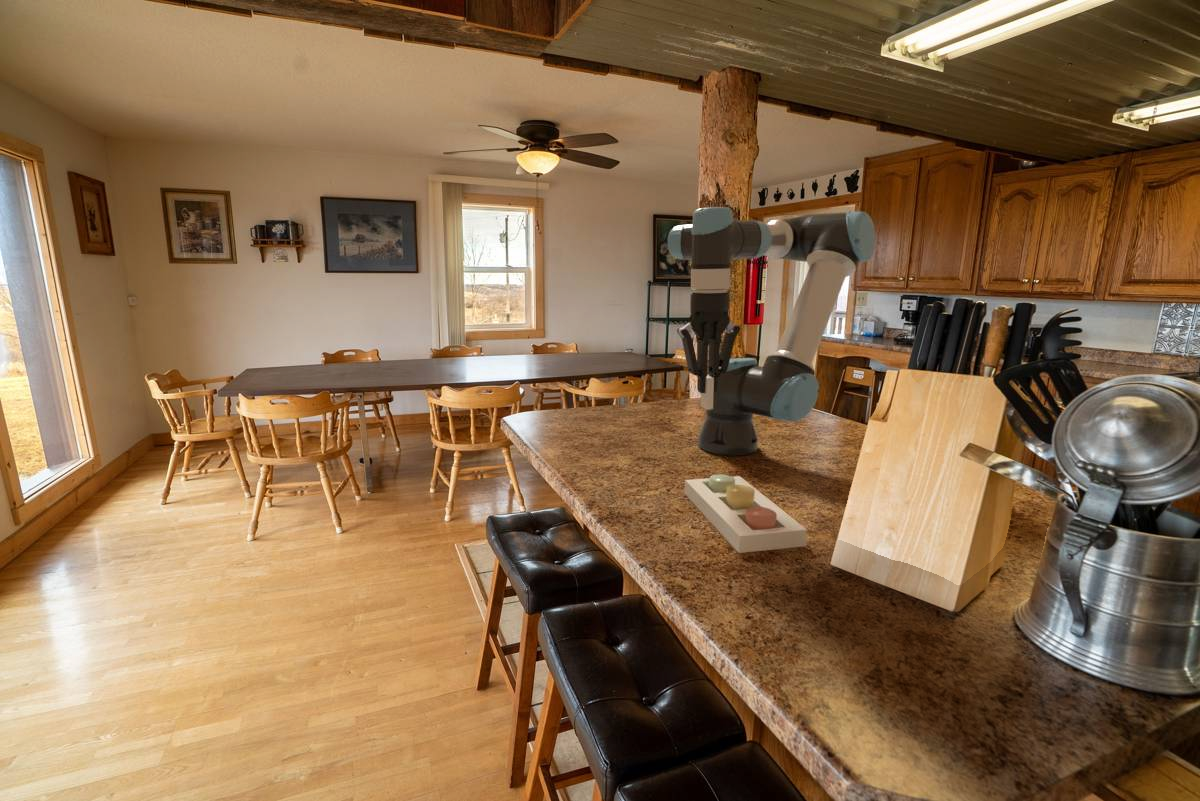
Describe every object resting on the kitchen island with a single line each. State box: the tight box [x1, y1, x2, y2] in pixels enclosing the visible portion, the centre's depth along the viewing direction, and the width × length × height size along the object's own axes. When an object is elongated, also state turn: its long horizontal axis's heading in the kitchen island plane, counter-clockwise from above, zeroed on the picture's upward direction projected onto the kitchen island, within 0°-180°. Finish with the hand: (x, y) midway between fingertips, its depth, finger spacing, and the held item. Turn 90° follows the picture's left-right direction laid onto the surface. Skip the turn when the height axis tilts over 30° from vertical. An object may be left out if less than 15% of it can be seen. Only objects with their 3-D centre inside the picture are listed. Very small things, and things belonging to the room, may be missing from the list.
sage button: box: [709, 474, 735, 493], centre depth 110 cm, size 5×5×3 cm
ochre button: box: [726, 484, 755, 510], centre depth 102 cm, size 5×5×3 cm
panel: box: [683, 475, 808, 554], centre depth 103 cm, size 12×25×3 cm, turn 12°
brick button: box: [745, 507, 777, 530], centre depth 95 cm, size 5×5×3 cm
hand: (706, 407), depth 114 cm, fingers closed
